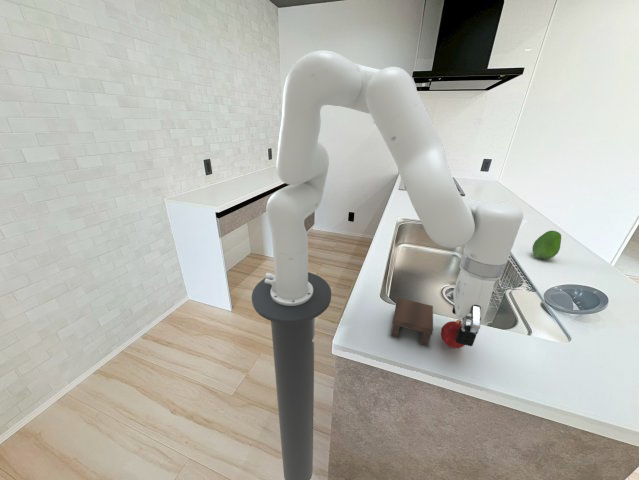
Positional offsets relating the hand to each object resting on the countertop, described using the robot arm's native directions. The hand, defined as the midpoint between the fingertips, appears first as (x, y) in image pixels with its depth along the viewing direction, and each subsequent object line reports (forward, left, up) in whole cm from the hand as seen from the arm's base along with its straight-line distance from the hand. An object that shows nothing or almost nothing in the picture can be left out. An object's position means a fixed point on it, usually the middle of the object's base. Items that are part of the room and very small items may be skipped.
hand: (461, 327), depth 59 cm
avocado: (+36, +61, -6) cm, 71 cm away
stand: (-10, +2, -6) cm, 12 cm away
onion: (-1, 0, -6) cm, 6 cm away
